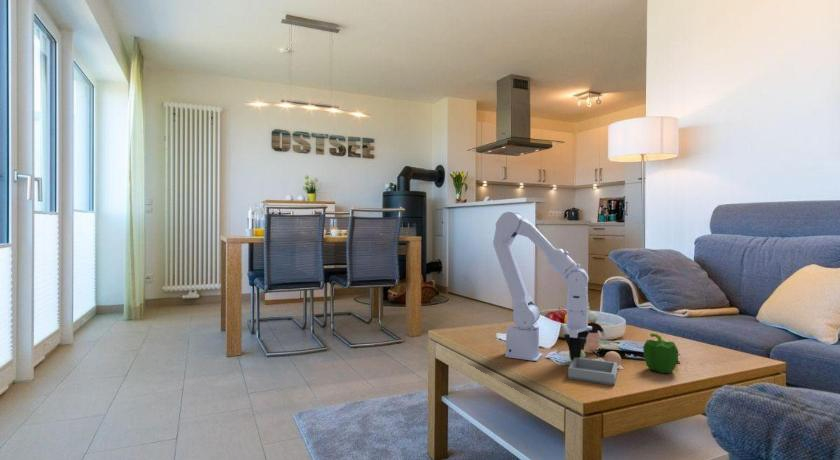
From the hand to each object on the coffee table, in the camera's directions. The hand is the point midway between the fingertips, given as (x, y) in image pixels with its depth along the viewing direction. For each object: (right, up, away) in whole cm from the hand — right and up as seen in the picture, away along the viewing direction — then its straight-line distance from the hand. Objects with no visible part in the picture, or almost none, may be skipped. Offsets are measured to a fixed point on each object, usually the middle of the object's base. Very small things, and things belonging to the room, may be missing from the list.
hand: (576, 357), depth 131 cm
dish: (0, -2, -11) cm, 12 cm away
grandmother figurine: (+9, -2, +12) cm, 15 cm away
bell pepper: (+21, -2, -7) cm, 22 cm away
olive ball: (0, -2, 0) cm, 2 cm away
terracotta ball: (+9, -2, -4) cm, 10 cm away
